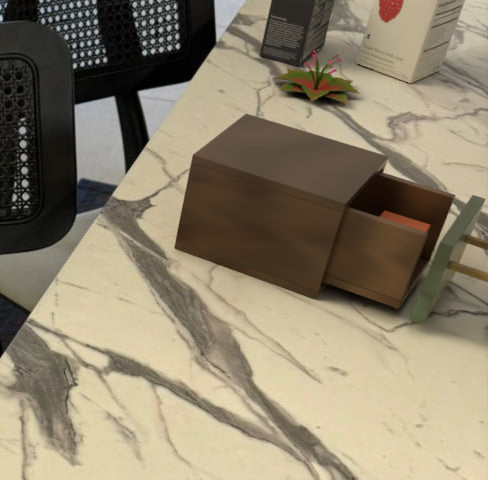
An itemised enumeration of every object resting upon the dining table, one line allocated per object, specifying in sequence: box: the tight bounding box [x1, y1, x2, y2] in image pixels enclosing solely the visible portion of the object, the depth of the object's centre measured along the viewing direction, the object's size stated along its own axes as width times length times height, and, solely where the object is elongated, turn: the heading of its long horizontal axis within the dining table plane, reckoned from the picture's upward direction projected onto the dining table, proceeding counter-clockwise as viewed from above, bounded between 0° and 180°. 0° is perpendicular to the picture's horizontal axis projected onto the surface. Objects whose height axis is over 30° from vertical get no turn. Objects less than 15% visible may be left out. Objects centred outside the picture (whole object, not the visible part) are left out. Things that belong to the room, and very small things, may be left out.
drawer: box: [323, 172, 488, 325], centre depth 93 cm, size 19×11×8 cm, turn 57°
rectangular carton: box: [355, 0, 466, 84], centre depth 138 cm, size 9×9×15 cm
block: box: [380, 211, 431, 233], centre depth 94 cm, size 4×4×4 cm
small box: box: [259, 0, 336, 67], centre depth 141 cm, size 11×6×10 cm, turn 149°
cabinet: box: [173, 113, 389, 300], centre depth 98 cm, size 15×13×10 cm
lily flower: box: [273, 51, 363, 105], centre depth 132 cm, size 12×12×5 cm
